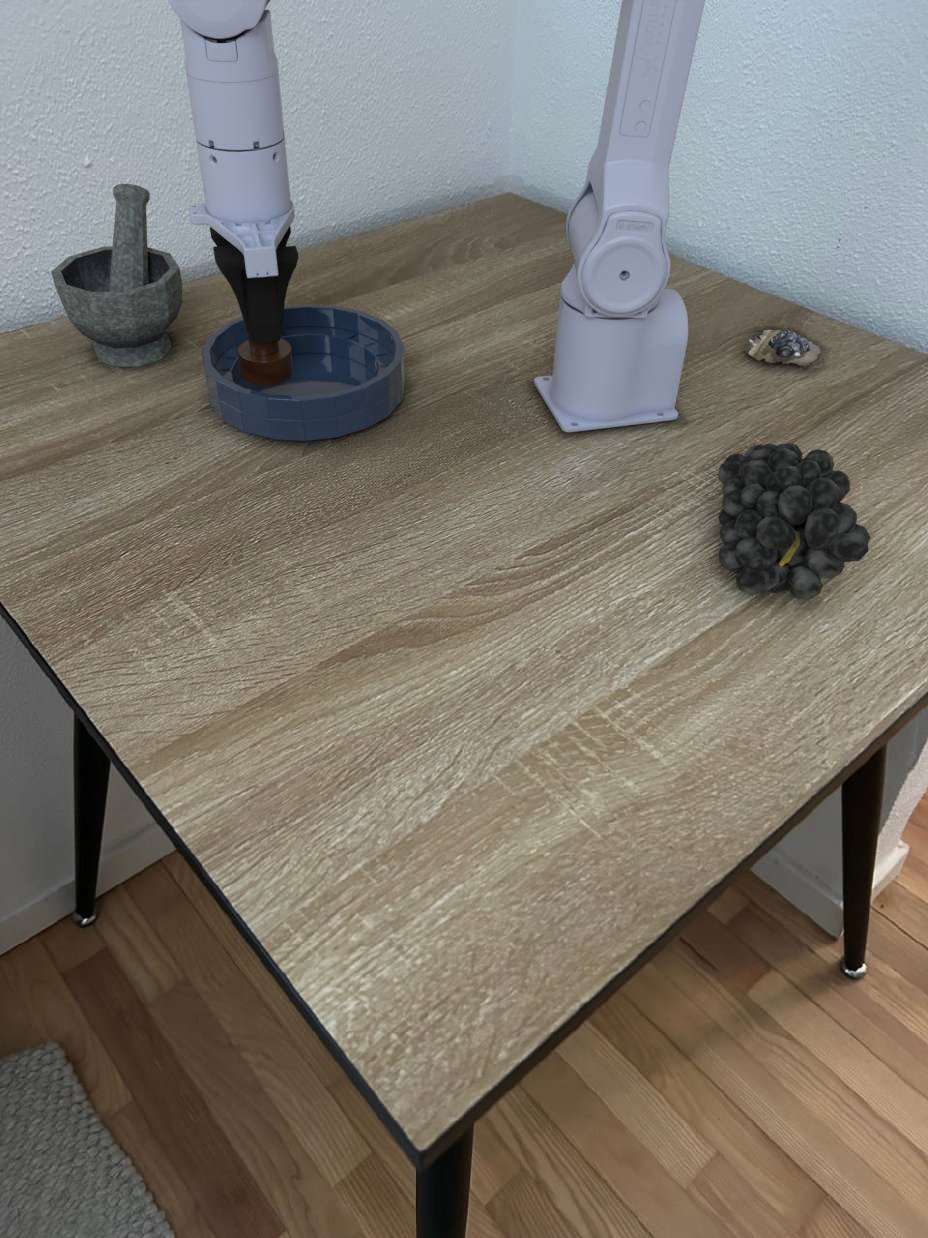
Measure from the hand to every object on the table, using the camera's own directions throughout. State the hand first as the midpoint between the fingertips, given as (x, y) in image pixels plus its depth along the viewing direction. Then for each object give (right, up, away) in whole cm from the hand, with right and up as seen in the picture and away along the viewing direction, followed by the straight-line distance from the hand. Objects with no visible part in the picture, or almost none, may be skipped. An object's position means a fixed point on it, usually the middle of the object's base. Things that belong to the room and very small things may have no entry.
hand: (263, 331), depth 73 cm
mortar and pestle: (-13, +1, +10) cm, 16 cm away
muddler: (0, -3, +2) cm, 3 cm away
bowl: (+3, -4, +4) cm, 6 cm away
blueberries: (+43, +2, +12) cm, 44 cm away
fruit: (+35, -17, -8) cm, 40 cm away
